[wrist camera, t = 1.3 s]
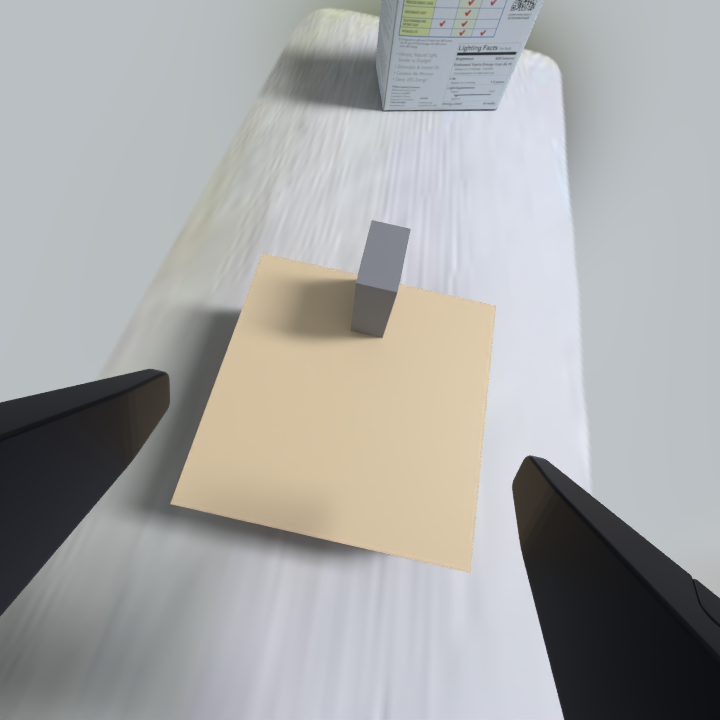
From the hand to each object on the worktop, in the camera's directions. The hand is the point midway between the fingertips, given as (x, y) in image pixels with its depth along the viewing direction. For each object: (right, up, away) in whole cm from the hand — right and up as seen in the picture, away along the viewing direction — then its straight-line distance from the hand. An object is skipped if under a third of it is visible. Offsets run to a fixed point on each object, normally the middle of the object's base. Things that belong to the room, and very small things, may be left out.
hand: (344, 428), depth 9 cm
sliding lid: (0, 0, +8) cm, 8 cm away
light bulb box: (+7, +26, +24) cm, 36 cm away
